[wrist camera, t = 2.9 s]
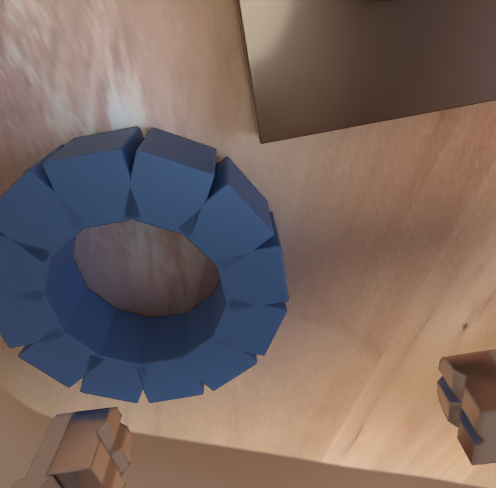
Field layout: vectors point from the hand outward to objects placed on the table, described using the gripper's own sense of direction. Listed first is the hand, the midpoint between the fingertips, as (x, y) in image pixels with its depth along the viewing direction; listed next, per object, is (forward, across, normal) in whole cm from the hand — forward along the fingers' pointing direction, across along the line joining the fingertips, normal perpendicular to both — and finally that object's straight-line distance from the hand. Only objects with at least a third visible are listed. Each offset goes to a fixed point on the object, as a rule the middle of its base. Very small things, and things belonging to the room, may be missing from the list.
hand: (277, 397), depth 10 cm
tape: (+8, +5, 0) cm, 10 cm away
